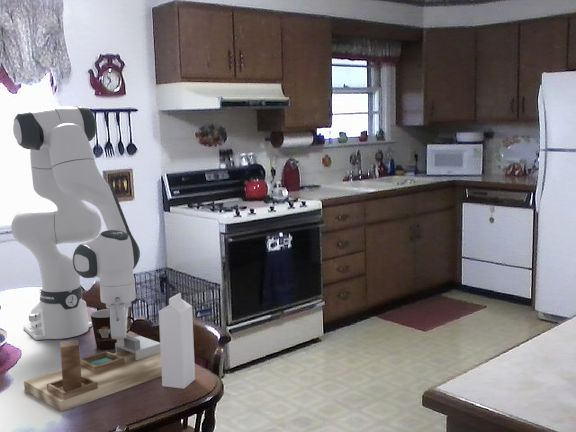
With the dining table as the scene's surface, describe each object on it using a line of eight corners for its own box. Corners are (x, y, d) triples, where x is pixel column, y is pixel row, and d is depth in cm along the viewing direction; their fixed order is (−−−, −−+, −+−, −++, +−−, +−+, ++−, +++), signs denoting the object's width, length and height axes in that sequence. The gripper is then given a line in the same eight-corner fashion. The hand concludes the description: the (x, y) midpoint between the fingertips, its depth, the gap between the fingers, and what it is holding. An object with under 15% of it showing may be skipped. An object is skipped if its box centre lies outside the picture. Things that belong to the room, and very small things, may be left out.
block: (63, 394, 143) (60, 347, 142) (63, 387, 147) (59, 342, 145) (82, 391, 145) (79, 344, 143) (81, 384, 148) (78, 339, 147)
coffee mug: (86, 350, 180) (84, 316, 178) (104, 340, 188) (102, 308, 186) (120, 354, 176) (118, 319, 174) (138, 344, 184) (136, 311, 182)
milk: (162, 386, 153) (157, 298, 150) (174, 377, 158) (169, 291, 156) (184, 389, 151) (180, 299, 148) (196, 379, 157) (191, 293, 154)
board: (24, 390, 152) (23, 374, 151) (140, 353, 176) (139, 339, 175) (61, 411, 140) (60, 394, 139) (180, 369, 164) (180, 354, 163)
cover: (115, 352, 170) (114, 334, 169) (140, 344, 176) (139, 327, 175) (136, 360, 163) (135, 342, 162) (161, 352, 169) (161, 334, 168)
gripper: (129, 302, 154) (132, 357, 156) (131, 283, 174) (133, 332, 175) (103, 304, 152) (106, 359, 154) (107, 285, 172) (110, 334, 174)
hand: (120, 344), depth 165 cm, fingers closed
